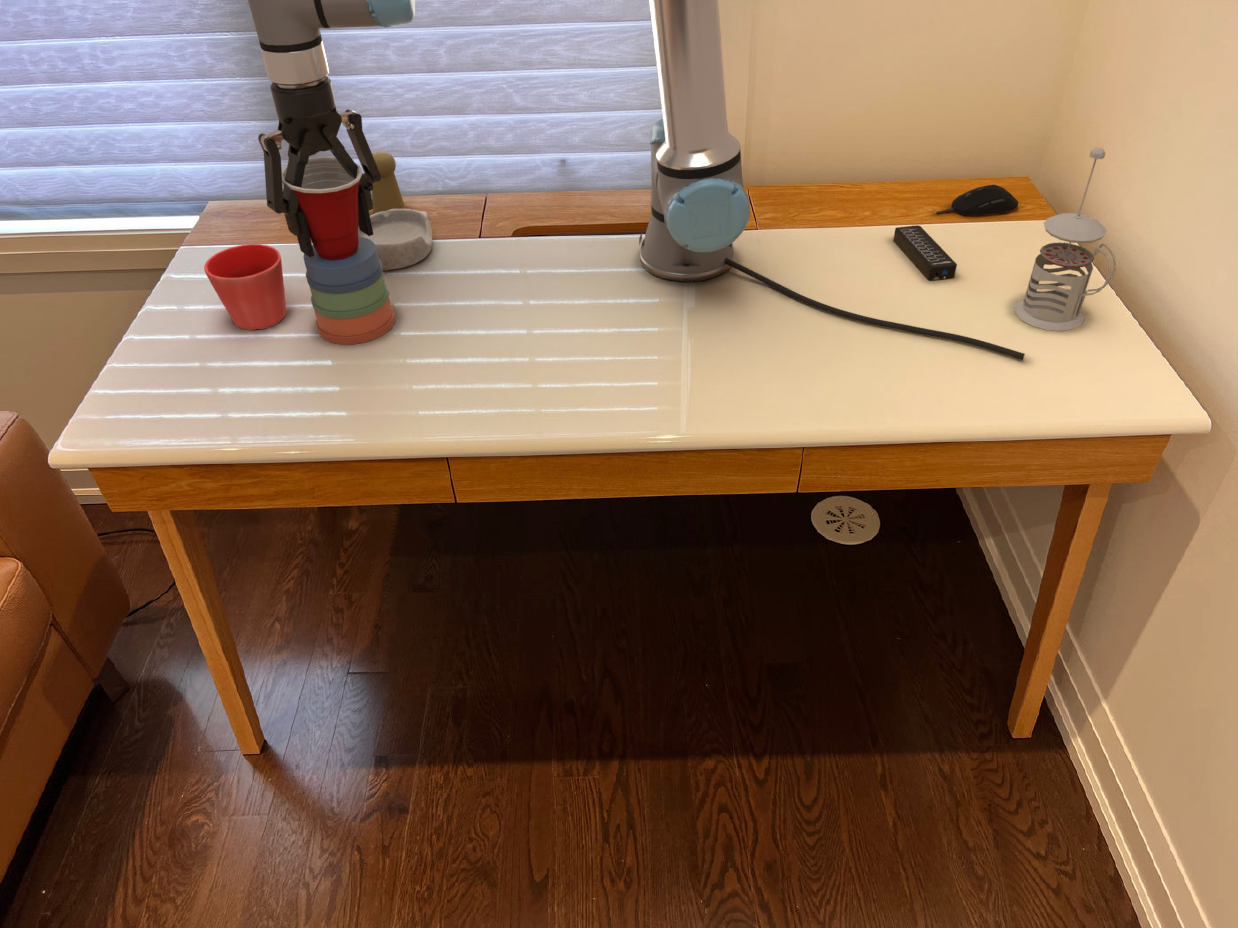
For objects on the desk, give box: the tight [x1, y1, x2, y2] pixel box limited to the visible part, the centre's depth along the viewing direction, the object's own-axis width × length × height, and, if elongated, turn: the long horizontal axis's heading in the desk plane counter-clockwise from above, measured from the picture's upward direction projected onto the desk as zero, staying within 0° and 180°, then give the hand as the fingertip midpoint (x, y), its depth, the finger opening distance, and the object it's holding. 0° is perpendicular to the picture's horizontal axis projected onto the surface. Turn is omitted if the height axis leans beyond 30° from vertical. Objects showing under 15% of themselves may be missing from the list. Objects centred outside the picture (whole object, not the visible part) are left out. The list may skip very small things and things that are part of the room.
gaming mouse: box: [936, 184, 1019, 217], centre depth 166 cm, size 6×15×4 cm, turn 101°
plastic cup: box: [282, 156, 364, 260], centre depth 132 cm, size 11×11×12 cm
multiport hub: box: [892, 224, 958, 282], centre depth 154 cm, size 4×14×2 cm, turn 10°
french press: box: [1013, 146, 1117, 332], centre depth 132 cm, size 10×12×25 cm
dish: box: [358, 208, 433, 271], centre depth 159 cm, size 14×14×5 cm
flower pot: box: [203, 243, 287, 331], centre depth 142 cm, size 11×11×10 cm
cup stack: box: [303, 236, 397, 345], centre depth 139 cm, size 12×12×12 cm
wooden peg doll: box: [371, 151, 407, 214], centre depth 169 cm, size 6×6×11 cm
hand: (337, 242), depth 135 cm, fingers closed on plastic cup, 9 cm apart
